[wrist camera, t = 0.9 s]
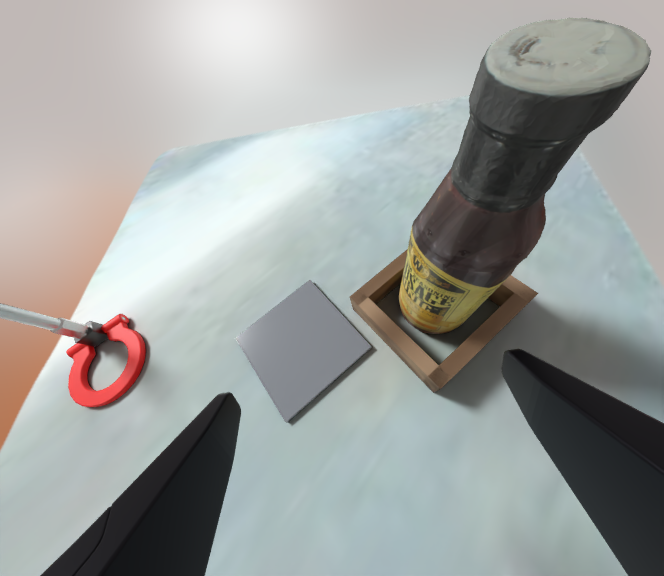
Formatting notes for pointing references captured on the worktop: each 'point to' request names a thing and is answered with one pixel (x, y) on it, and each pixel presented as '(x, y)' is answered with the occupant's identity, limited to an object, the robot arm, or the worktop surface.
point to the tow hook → (89, 351)
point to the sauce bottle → (513, 160)
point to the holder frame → (435, 376)
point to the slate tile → (301, 348)
